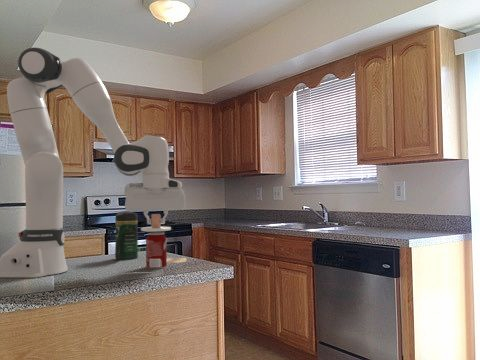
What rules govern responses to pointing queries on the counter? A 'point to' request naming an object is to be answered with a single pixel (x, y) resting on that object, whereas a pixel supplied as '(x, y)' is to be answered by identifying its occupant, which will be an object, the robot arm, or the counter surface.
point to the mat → (176, 260)
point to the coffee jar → (126, 236)
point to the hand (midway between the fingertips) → (156, 223)
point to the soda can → (156, 250)
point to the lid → (156, 224)
